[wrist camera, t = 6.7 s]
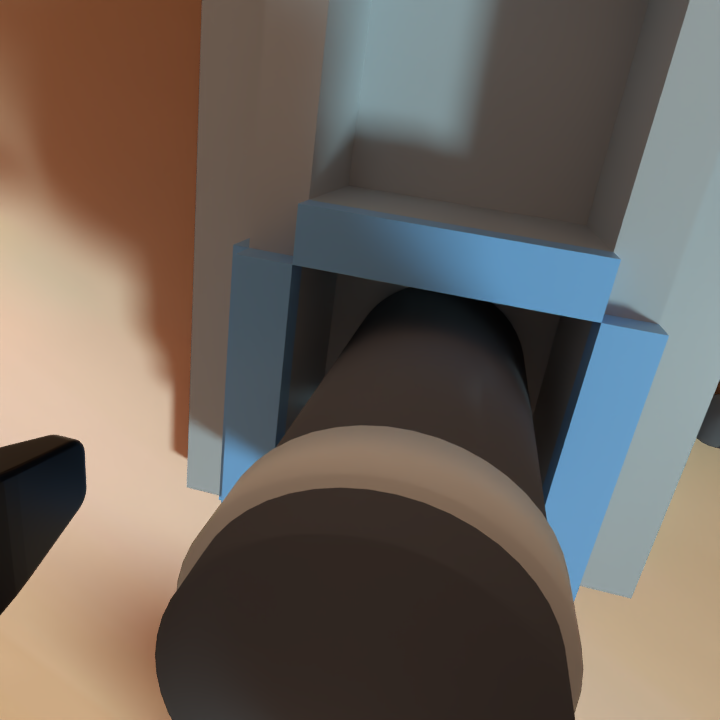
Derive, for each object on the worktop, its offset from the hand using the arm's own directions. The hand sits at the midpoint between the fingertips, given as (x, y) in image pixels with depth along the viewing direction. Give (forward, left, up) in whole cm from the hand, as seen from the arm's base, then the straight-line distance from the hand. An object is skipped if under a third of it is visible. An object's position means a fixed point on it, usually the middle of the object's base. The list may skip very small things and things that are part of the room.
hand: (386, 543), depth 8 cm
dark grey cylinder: (0, 0, -6) cm, 6 cm away
